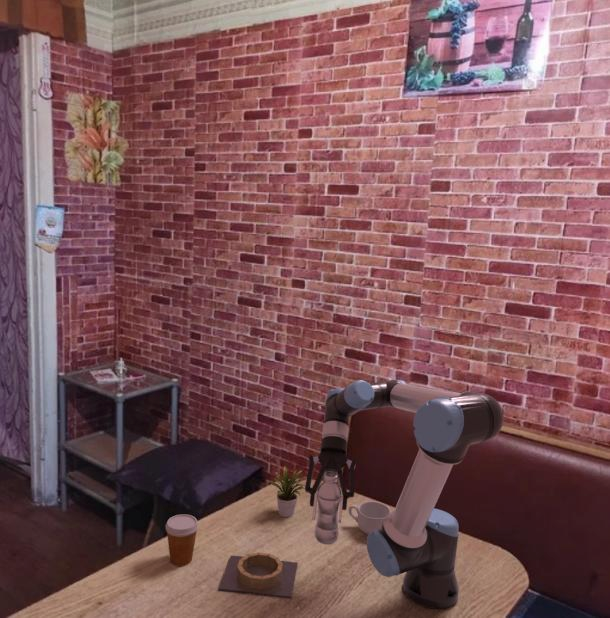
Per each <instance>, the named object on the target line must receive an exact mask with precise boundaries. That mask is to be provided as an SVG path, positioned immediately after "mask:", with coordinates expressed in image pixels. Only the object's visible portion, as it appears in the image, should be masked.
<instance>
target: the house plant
mask: <svg viewBox="0 0 610 618" xmlns="http://www.w3.org/2000/svg"><path fill="white" fill-rule="evenodd" d="M302 471H303V469H301V470H299V471H298V468H296V470H295V471H293V474H292V475H289V470H288V468H287V467H286V466H285V465H284V467H283V474H282V475H281V474H279V473H278V472H276V471H274V474H275V475H276V478H273V479H274V480H275V481H274V482H271V483H269V484H270V485H271V486H274V487H276V488H278V490H277V492H276V493H277V495H276V501H277V508H278V515H280V516H281V517H284V518H290V517H293V516H294V514H295V510H296V505H297V500H298V496H299V497H301V493H300V492H299V490H305V485H306V484H305V485H304V484H302V483H300V482H302V481H306V480H307V476H303V477H301V478H299V476H300V474H301V473H302ZM281 476H282V477H281ZM298 478H299V479H298ZM276 482H277V483H276Z"/></svg>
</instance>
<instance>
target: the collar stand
mask: <svg viewBox="0 0 610 618" xmlns="http://www.w3.org/2000/svg"><path fill="white" fill-rule="evenodd" d="M298 565H299V563H298V561H297V562H295V561H287V560H281V559H280V558H279V557H277V556H275V555H273V554H271V553H267V552H254V553H247V554H246V555H244V556H241V555H240V556H239V555H234V554H233V555H230V557H229V560H228V562H227V565H226V566H225V570H224V573H223V575H222V578H221V580H220V583H219V586H218V587H217V591H220V592H229V593H238V594H246V595H247V594H248V595H257V596H265V597H274V598H282V599H283V598H284V599H289V600H291V599H292V597H293V592H294V586H295V580H296V576H297V570H298Z"/></svg>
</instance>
